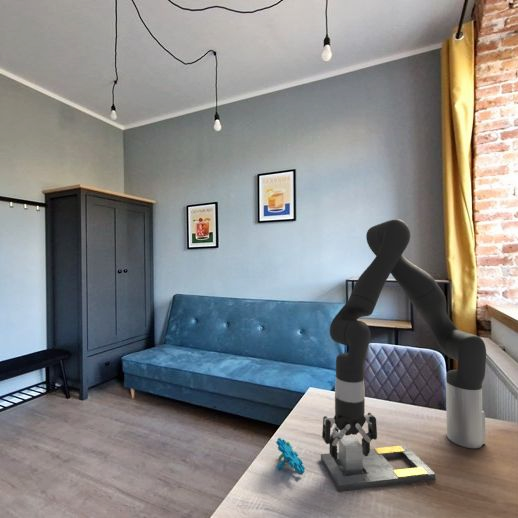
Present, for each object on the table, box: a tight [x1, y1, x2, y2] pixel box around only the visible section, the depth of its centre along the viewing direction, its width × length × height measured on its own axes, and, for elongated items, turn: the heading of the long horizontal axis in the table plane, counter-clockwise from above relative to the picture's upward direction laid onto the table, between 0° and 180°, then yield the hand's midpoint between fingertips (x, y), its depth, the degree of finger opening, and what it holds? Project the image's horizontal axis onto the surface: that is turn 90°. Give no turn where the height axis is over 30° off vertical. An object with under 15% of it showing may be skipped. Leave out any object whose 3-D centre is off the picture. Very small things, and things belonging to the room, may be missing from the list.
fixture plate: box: [320, 444, 436, 493], centre depth 82 cm, size 26×12×2 cm, turn 99°
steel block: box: [338, 435, 364, 476], centre depth 81 cm, size 4×4×8 cm
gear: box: [275, 437, 306, 475], centre depth 82 cm, size 11×6×10 cm
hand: (349, 456), depth 81 cm, fingers open, 8 cm apart
